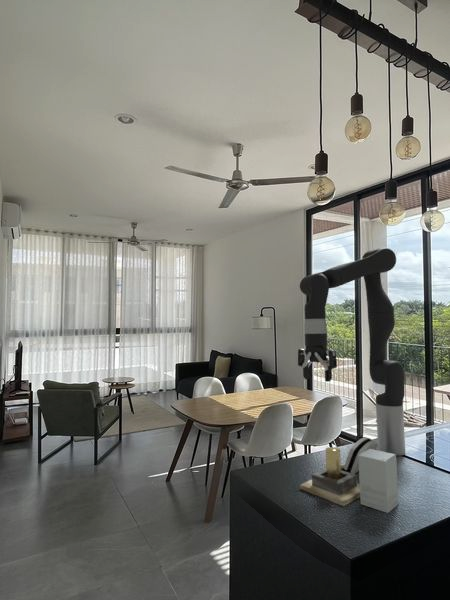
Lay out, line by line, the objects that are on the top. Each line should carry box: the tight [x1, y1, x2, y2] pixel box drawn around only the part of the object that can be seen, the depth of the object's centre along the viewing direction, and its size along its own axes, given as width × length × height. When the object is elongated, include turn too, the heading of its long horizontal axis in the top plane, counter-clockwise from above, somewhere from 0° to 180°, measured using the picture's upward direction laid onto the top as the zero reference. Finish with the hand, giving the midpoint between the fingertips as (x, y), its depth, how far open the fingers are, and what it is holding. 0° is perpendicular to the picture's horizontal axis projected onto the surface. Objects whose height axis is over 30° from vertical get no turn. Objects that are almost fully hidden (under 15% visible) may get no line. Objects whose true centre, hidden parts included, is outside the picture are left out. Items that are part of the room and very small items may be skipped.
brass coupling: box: [325, 446, 342, 480], centre depth 106 cm, size 4×4×10 cm
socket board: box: [299, 467, 360, 507], centre depth 105 cm, size 13×14×4 cm
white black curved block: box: [341, 436, 378, 475], centre depth 124 cm, size 17×5×10 cm, turn 139°
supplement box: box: [358, 449, 400, 514], centre depth 97 cm, size 7×7×13 cm
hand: (317, 380), depth 126 cm, fingers open, 8 cm apart
